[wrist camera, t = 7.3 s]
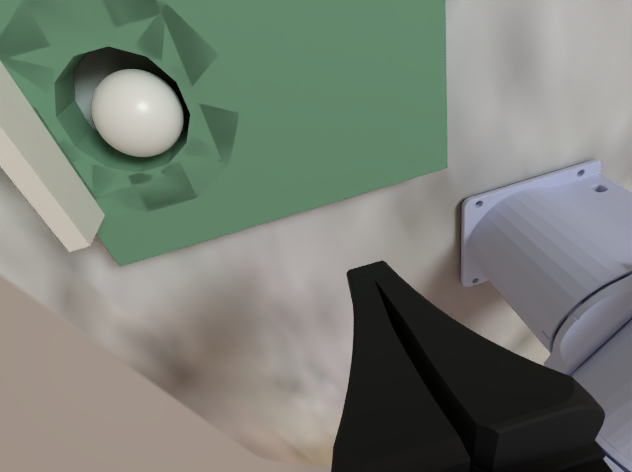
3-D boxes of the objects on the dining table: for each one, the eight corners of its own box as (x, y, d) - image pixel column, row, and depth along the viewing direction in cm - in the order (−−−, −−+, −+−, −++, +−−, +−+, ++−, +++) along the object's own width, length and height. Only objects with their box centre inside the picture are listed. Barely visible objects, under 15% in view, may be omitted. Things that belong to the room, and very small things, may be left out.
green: (411, -197, 14) (486, -262, 10) (428, 150, 22) (471, 189, 18) (-88, -62, 13) (-217, -74, 9) (120, 242, 22) (97, 303, 18)
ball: (129, 52, 17) (186, 61, 16) (157, 126, 20) (209, 141, 18) (54, 82, 15) (112, 95, 13) (97, 161, 17) (150, 180, 16)
